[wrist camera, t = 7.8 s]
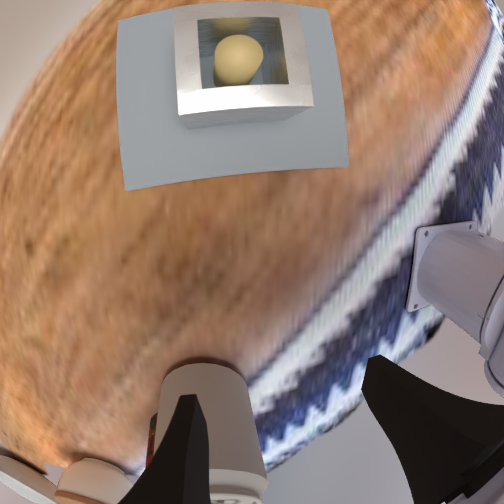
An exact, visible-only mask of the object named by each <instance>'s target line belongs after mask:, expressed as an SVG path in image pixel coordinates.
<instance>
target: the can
mask: <svg viewBox="0 0 504 504" xmlns="http://www.w3.org/2000/svg"><path fill="white" fill-rule="evenodd" d="M187 394H196V395H197V398H198V400H199V403H200V406H201V409H202V411H203V414H204V417H205V419H206V422H207V430H208V438H209V489H210V499H211V504H263V502H262V499H260V498H259V497H260V496H261V495H262V494H263V492H264V491H265V490H266V488H267V487H268V486H269V484H268V480H267V475H266V471H265V467H264V462H263V458H262V454H261V449H260V445H259V440H258V436H257V431H256V426H255V422H254V417H253V412H252V408H251V403H250V398H249V393H248V388H247V383H246V382H245V381H244V379H243V378H242V377H241V375H239V374H238V373H236V372H235V371H233V370H231V369H230V368H227V367H223V366H220V365H217V364H208V363H196V364H188V365H185V366H182V367H179V368H177V369H174V370H173V371H172V372H171V373H169V374H168V375H167V376H166V377H165V379H164V381H163V383H162V385H161V392H160V399H159V407H158V415H157V424H156V434H155V444H154V454H155V452H156V450H157V448H158V446H159V445H160V443H161V441H162V439H163V437H164V434H165V432H166V430H167V428H168V425H169V423H170V421H171V418H172V416H173V413H174V411H175V408H176V405H177V402H178V399H179V397H180V396H181V395H187ZM153 456H154V455H153Z"/></svg>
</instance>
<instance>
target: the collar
mask: <svg viewBox="0 0 504 504" xmlns="http://www.w3.org/2000/svg"><path fill="white" fill-rule="evenodd" d="M232 35H245V36H249V37H251V38H253V39H254V40H256V41H257V42H258V43H259V44H260V46H261V47H262V50H263V60H262V62H261V69H262V78H263V85H243V86H228V87H217V88H207V89H202V82H201V69H200V58H202V57H212V56H215V49H216V47H217V45H218V44H219V42H220V41H222V40H223V39H224V38H226V37H228V36H232ZM174 44H175V67H176V84H177V99H178V112H179V116H180V118H181V119H182V121H183V122H184V124H185V125H186V127H187V128H188V130H189V129H196V128H204V127H212V126H221V125H231V124H242V123H256V122H277V121H285V120H287V119H289V118H291V117H293V116H295V115H297V114H299V113H301V112H303V111H305V110H307V109H309V108H311V107H313V106H314V104H313V95H312V87H311V79H310V72H309V65H308V58H307V52H306V46H305V40H304V34H303V29H302V23H301V18H300V13H299V8H298V4H293V3H280V2H258V1H239V2H216V3H204V4H194V5H186V6H179V7H174Z"/></svg>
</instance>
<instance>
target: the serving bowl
mask: <svg viewBox="0 0 504 504" xmlns="http://www.w3.org/2000/svg"><path fill="white" fill-rule="evenodd" d="M0 481H1V482H3V483H4V484H5V485H7V486H8V487H9V488H11V489H12V490H14V491H15V492H17V493H18V494H20V495H22V496H23V497H25V498H27V499H29V500H30V501H32V502H34V503H36V504H60V503H58V502H57V501H56V500H55V498H54V494H55V491H56V490H57V487H56V486H55V485H54V484H53V483H52V482H50V481H49V480H48V479H46V478H45V477H44V476H43V475H42V474H40V473H39V472H37V471H36V470H34V469H33V468H31V467H29V466H28V465H26V464H24V463H22V462H20V461H16V460H14V459H12V458H9V457H6V456H2V455H0Z"/></svg>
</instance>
